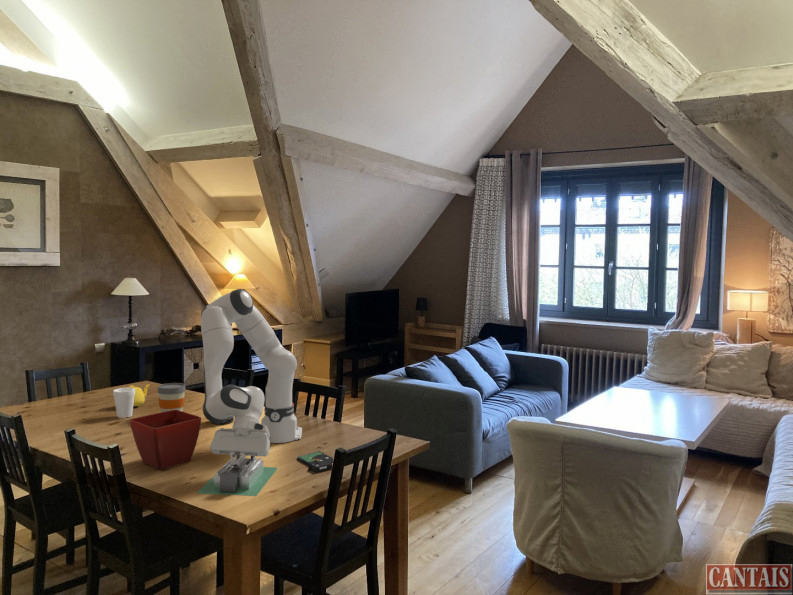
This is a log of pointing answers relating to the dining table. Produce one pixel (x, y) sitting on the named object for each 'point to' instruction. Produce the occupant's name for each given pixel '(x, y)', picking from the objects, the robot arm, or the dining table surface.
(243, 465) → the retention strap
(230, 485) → the heat sink
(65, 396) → the dining table surface
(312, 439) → the dining table surface
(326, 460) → the disk drive
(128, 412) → the foam cup
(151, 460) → the plant pot
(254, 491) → the circuit board
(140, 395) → the teapot
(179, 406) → the reusable coffee cup
